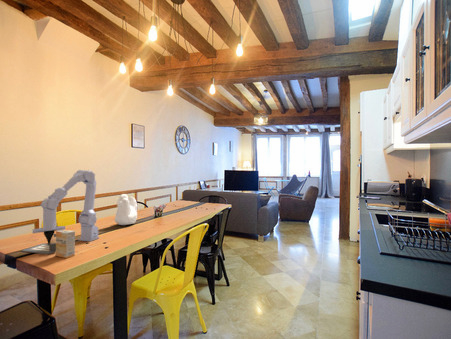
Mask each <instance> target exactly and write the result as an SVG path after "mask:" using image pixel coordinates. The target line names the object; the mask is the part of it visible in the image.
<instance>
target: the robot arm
mask: <svg viewBox="0 0 451 339" xmlns="http://www.w3.org/2000/svg"><path fill="white" fill-rule="evenodd" d="M81 182H82V183H83V184H85V193H84V194H85V195H84V204H83V210H82V211H81V212H80V215H79V217H78V223H79V224H80V238H78V239H77V241H81V242H93V241H94V240H97V239H100V237H99V227H98V226H97V225H95V224H96V223H97V220H98V218H97V213H96V212H95V209H94V207H95V197H96V189H97V180H96V174H95V173H94V172H93V171H92V170H89V169H88V170H85V169H84V170H83V169H79V170H77V171H76V172H75V173H73V175H72V177H71V178H70V179H69V180H68V181H67V182H66V183H65V184H63V186H62V187H57V188H56V189H54V192H52V193H51V194H50V195H47V198H44V199H43V200H42V202H41V203H40V207H41V208H42V227H40V228H34V229H32V234H34V235H35V234H38V233H43V235H44V237H45V238H46V241H47V244H48V245H49V244H50V243H51V240H52V237H54V234H55V233H56V231H59V230H63V229H66V226H65V225H63V226H62V225H61V226H60V225H59V226H58V225H56V224H57V223H56V222H57V208H58V207H59V206H60V205H59V204H60V202H61V201H62V200H63V199H64V198H65V197H66V196H67V195H68V191H69V190H71V189H72V188H73V187H74V186H75V185H77V184H78V183H81Z"/></svg>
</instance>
